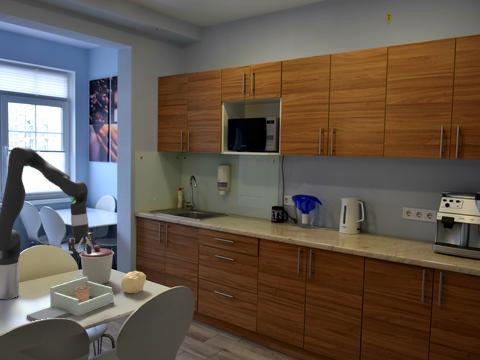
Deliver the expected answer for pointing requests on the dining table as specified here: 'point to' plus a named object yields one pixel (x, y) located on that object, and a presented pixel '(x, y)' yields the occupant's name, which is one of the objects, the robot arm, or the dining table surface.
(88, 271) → the canister
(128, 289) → the sculpture
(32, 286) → the dining table surface
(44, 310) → the slate board
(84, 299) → the terracotta pot
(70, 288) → the pale green open box
